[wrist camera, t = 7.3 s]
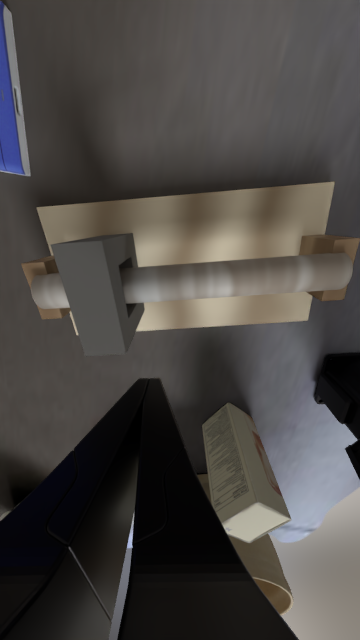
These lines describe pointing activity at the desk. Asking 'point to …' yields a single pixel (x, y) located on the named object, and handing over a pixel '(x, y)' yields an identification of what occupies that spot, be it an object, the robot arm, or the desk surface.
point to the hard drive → (11, 103)
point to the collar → (99, 291)
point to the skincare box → (241, 476)
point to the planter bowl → (261, 564)
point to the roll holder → (209, 255)
